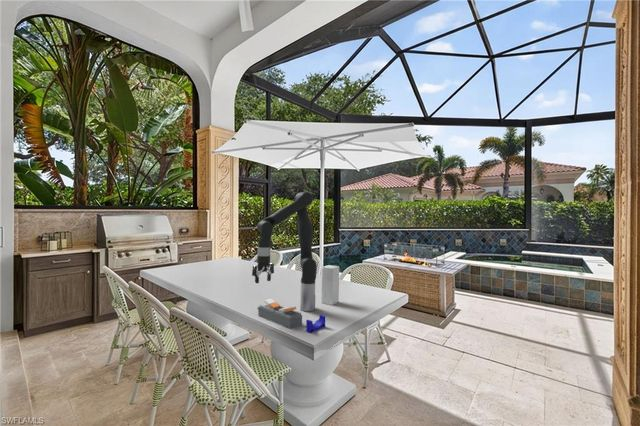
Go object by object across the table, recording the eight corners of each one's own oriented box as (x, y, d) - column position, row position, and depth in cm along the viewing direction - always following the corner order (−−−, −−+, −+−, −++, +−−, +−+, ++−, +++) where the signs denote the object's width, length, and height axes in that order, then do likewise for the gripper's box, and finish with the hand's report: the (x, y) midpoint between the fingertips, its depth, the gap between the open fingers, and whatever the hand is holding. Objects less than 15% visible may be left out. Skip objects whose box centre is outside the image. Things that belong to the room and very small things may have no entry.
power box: (252, 313, 186) (252, 303, 186) (264, 309, 192) (264, 300, 192) (290, 328, 163) (290, 317, 163) (302, 324, 170) (302, 313, 170)
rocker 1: (264, 301, 181) (264, 300, 181) (270, 300, 185) (271, 298, 185) (273, 309, 175) (273, 307, 175) (280, 307, 179) (280, 305, 179)
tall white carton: (321, 302, 209) (322, 266, 209) (328, 299, 216) (328, 264, 216) (332, 305, 204) (333, 268, 204) (338, 302, 212) (339, 266, 211)
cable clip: (319, 324, 170) (319, 314, 170) (325, 326, 167) (325, 316, 167) (304, 331, 161) (304, 319, 161) (310, 333, 158) (310, 321, 158)
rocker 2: (279, 311, 172) (278, 309, 172) (285, 309, 176) (285, 307, 176) (289, 311, 166) (289, 308, 166) (296, 308, 170) (296, 306, 170)
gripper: (269, 252, 187) (268, 279, 187) (250, 254, 177) (249, 282, 177) (277, 254, 182) (276, 281, 182) (257, 256, 172) (257, 285, 172)
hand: (262, 282), depth 180 cm, fingers open, 8 cm apart
